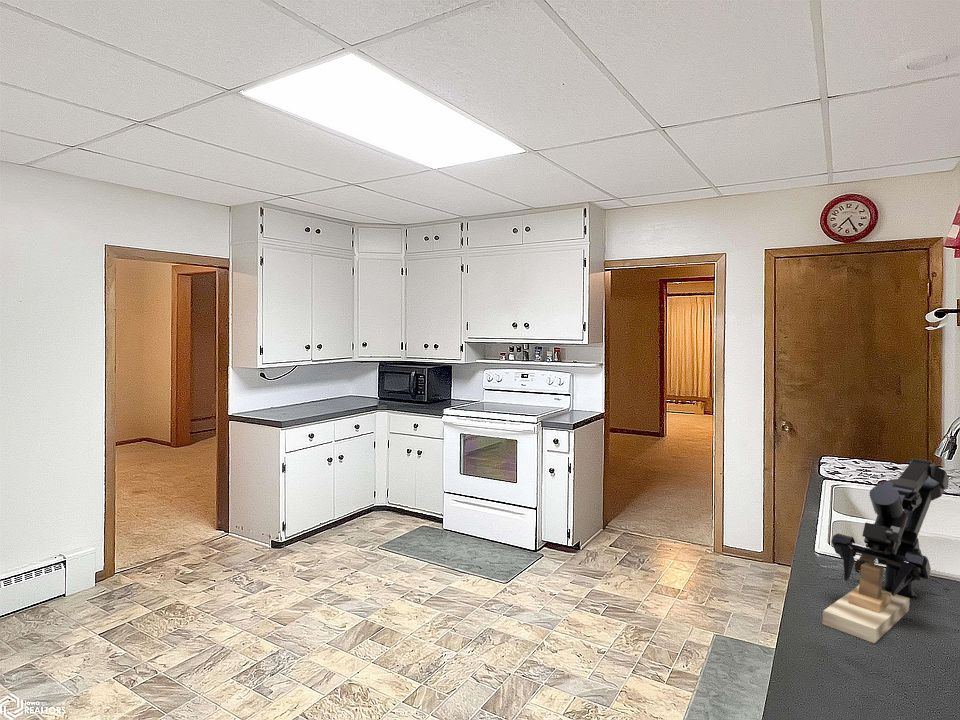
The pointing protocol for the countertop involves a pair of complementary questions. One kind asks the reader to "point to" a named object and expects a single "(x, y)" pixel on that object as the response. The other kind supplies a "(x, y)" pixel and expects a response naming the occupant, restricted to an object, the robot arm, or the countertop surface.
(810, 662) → the countertop surface
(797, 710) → the countertop surface
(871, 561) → the hand tool
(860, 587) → the block
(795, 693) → the countertop surface
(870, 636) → the board
